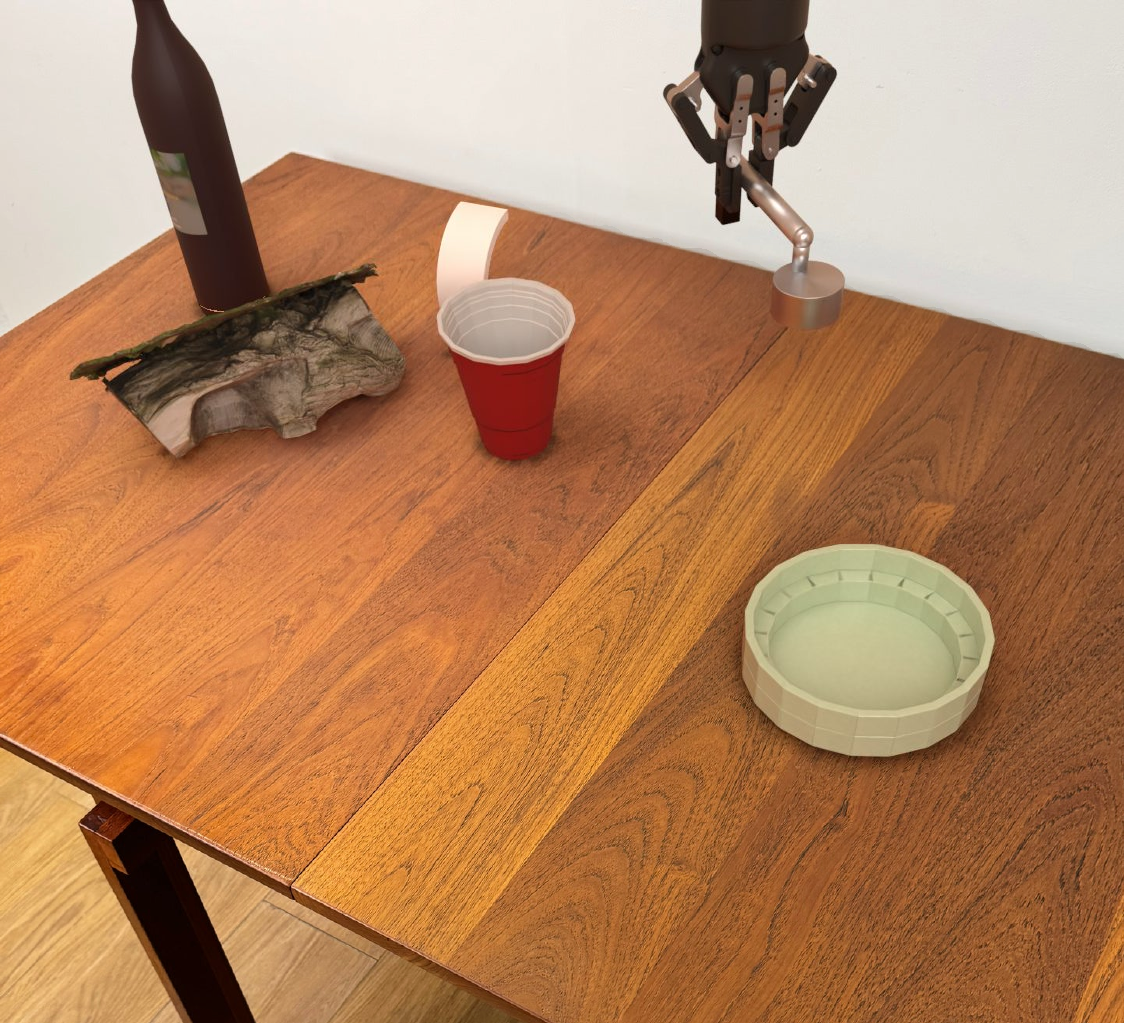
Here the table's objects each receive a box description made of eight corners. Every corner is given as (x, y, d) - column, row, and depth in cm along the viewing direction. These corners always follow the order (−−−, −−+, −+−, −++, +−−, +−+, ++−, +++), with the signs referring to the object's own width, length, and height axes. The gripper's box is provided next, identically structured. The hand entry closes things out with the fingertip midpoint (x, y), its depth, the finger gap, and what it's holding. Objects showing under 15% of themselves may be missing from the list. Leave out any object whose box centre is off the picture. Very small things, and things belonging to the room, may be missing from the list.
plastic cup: (510, 499, 98) (495, 370, 89) (429, 442, 104) (407, 314, 94) (608, 440, 102) (604, 311, 93) (526, 388, 108) (514, 261, 98)
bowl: (918, 571, 90) (929, 524, 87) (1022, 730, 80) (1038, 684, 76) (710, 616, 88) (713, 570, 85) (789, 785, 78) (796, 741, 75)
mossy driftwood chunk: (133, 516, 107) (115, 484, 92) (70, 379, 105) (42, 324, 91) (422, 408, 113) (448, 361, 99) (367, 277, 112) (385, 210, 97)
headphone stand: (519, 334, 113) (508, 209, 104) (490, 369, 110) (476, 243, 101) (476, 325, 115) (461, 201, 105) (446, 359, 111) (427, 234, 102)
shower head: (691, 218, 100) (693, 147, 96) (749, 205, 101) (754, 134, 96) (787, 336, 88) (795, 262, 84) (852, 321, 89) (863, 246, 85)
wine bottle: (202, 287, 122) (97, -53, 99) (272, 279, 122) (183, -62, 99) (196, 325, 118) (85, -22, 94) (269, 317, 118) (175, -32, 95)
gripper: (683, -7, 79) (678, 245, 93) (874, -43, 81) (842, 209, 95) (644, -44, 84) (645, 201, 97) (826, -77, 86) (802, 168, 99)
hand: (742, 204), depth 96 cm, fingers closed on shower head
